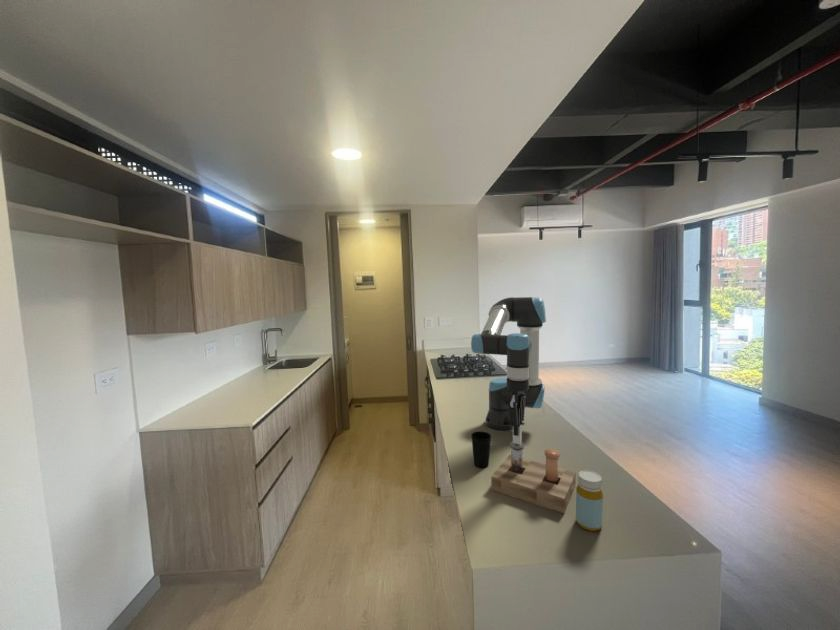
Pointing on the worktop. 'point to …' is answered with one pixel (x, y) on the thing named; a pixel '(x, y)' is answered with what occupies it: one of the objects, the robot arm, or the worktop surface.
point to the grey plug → (517, 456)
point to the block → (534, 484)
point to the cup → (481, 448)
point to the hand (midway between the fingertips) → (517, 442)
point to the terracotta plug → (552, 464)
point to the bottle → (589, 501)
